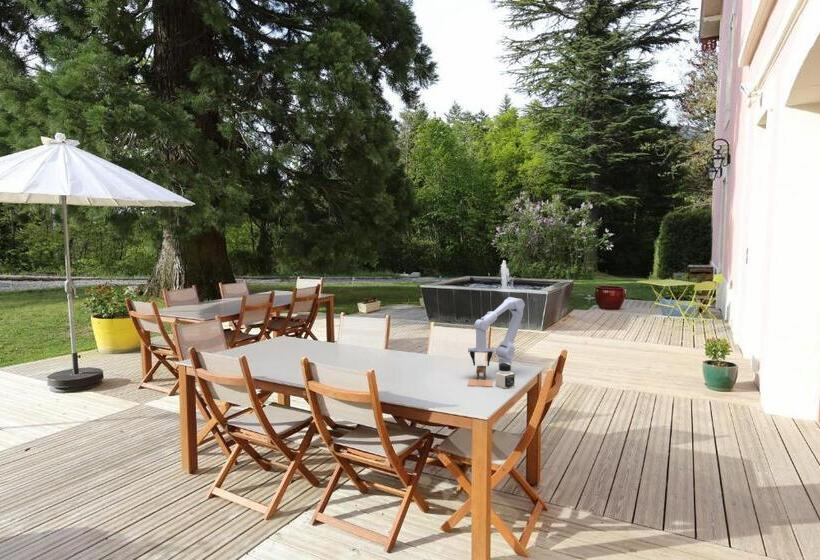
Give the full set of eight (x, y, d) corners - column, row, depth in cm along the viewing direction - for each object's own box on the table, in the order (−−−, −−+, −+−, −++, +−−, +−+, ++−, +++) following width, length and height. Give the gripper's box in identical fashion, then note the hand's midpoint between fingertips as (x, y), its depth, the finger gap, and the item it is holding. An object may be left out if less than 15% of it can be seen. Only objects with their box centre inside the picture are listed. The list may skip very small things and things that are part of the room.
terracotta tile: (468, 380, 289) (468, 379, 289) (492, 381, 287) (492, 380, 287) (467, 386, 278) (467, 385, 278) (492, 387, 276) (492, 386, 276)
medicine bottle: (505, 389, 273) (505, 366, 272) (495, 385, 278) (495, 363, 277) (514, 386, 277) (514, 364, 276) (504, 383, 283) (504, 361, 281)
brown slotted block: (476, 379, 290) (476, 369, 289) (477, 375, 298) (477, 365, 297) (485, 380, 289) (485, 369, 288) (486, 376, 297) (486, 365, 296)
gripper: (467, 342, 289) (467, 366, 290) (494, 343, 286) (494, 367, 287) (468, 339, 295) (468, 363, 297) (494, 340, 293) (494, 364, 294)
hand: (481, 365), depth 292 cm, fingers open, 7 cm apart
